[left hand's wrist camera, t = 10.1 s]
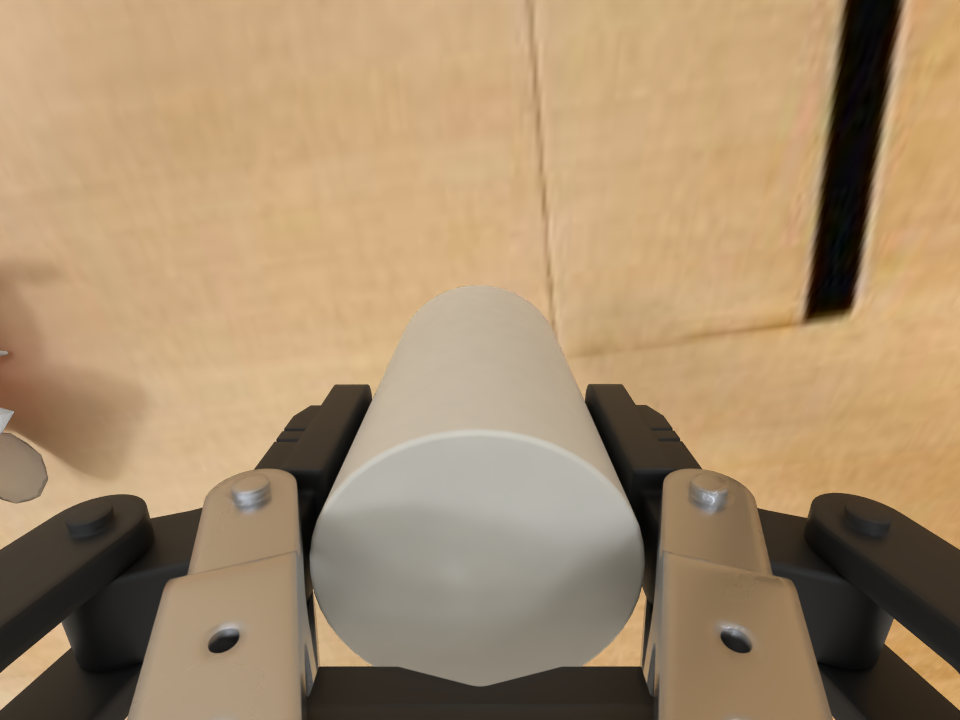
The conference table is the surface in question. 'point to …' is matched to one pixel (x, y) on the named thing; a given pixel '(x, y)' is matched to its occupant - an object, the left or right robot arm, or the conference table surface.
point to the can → (477, 506)
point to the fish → (19, 465)
